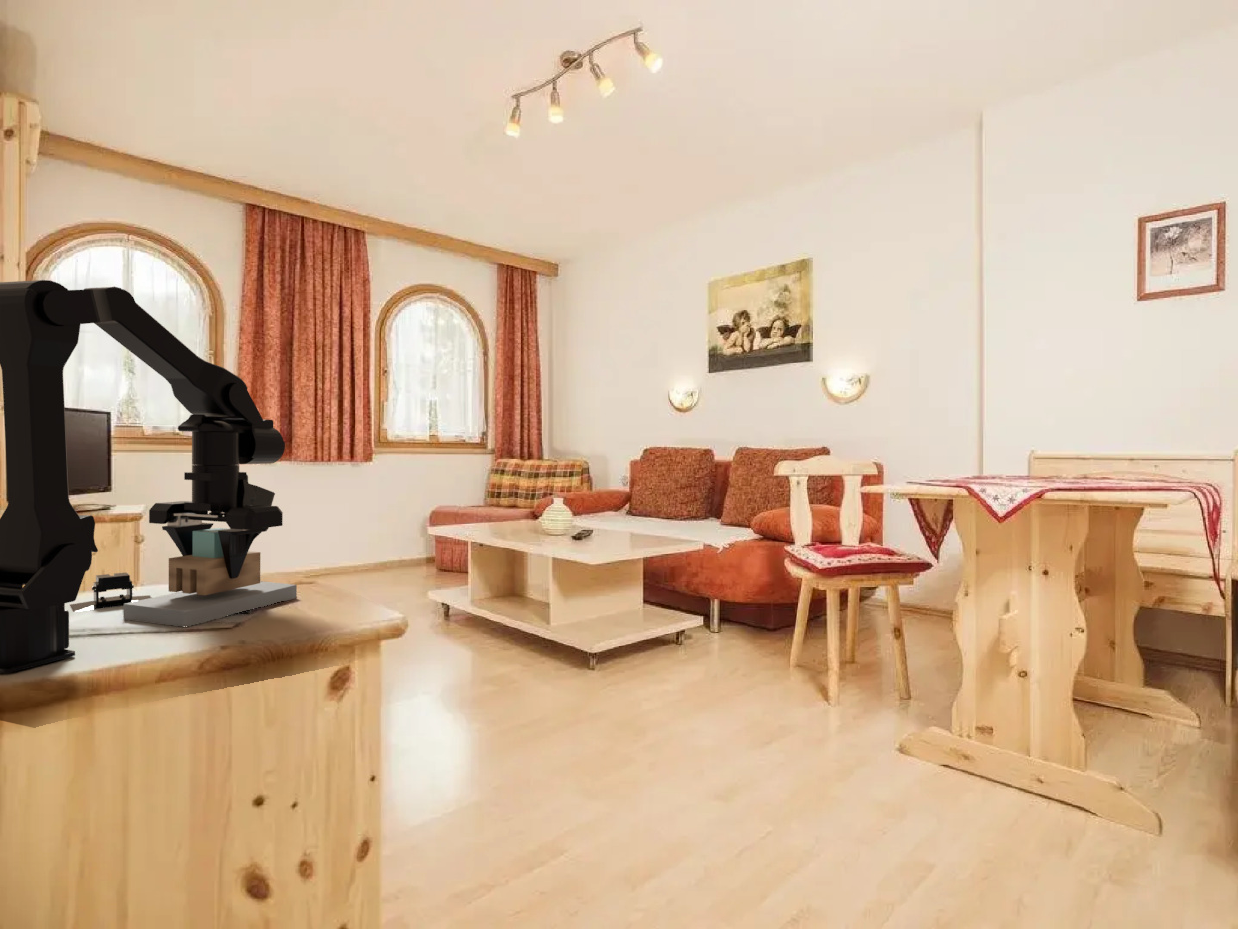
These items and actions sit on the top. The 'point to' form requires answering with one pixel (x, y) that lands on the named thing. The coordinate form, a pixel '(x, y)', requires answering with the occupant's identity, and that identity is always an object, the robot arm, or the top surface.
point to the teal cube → (207, 543)
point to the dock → (206, 604)
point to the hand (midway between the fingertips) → (215, 576)
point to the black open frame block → (106, 584)
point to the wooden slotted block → (210, 574)
